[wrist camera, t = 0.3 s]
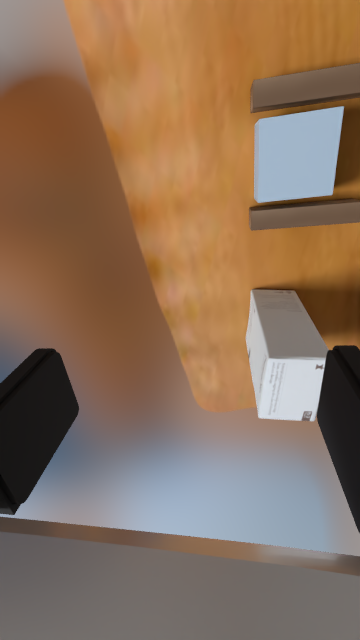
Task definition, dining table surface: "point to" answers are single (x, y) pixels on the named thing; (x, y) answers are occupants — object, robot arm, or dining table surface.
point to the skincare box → (284, 356)
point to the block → (296, 155)
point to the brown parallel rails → (298, 93)
